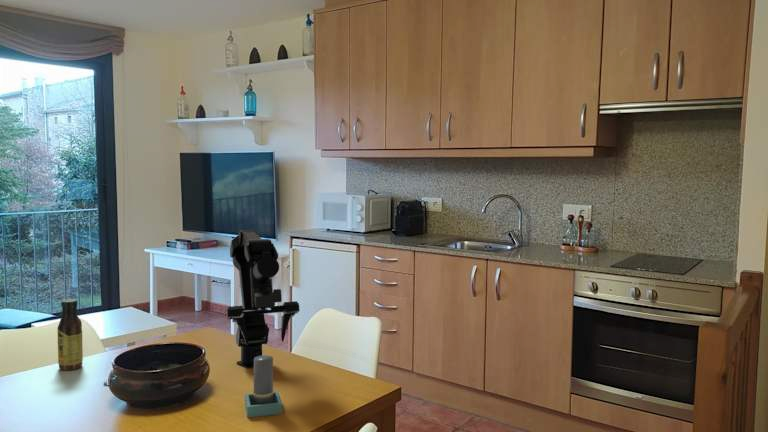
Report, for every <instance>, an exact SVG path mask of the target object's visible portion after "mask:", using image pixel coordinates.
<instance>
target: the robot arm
mask: <svg viewBox="0 0 768 432" xmlns="http://www.w3.org/2000/svg"><path fill="white" fill-rule="evenodd" d="M229 256H230V258H232V264H233V266H234V267H235V268H236V269H237V271H238V272H239V273H238V275H239V284H240V285H239V286H240V293H241V305H233V306H231V305H230V306H228V307H227V308H226V317H227V318H226V320H231V321H232V323H236V325H237V328H236V334H235V343H236V346H237V347H239V348H240V360H238V361H236V364H237V365H239V366H242V367H245V368H246V369H250V368H251V369H252V368H254V358H255V357H257V356H263V345H267V344H268V342H269V333H270V328H269V326H268V324H267V323H266V320H265V319H266V318H265V314H274V313H275V314H276V313H277V314H278V313H282V316H281V327H280V328H281V331H280V333H281V334H280V336H281V342H284V341H285V337H286V333H287V329H288V325H289V323H290V320H291V318H293V317H294V316H295V315H296V314H299V312H300V304H299V302H298V301H294V300H293V301H286V302H283V303H282V289H281V288H279V289H278V288H276V289H273V286H274V285H273V278H274V277H275V276H276V275H277V274H278V273H279V270H280V264H279V262H278V259H279V253H278V251H277V249H276V246H275V245H274V243H273V242H272V240H271V239H269V238H261V237H260V236H259V235H258V233H257V230H254V229H242V230H239V232H238V235H237V236H235V237H234V238H233V239H231V242H230V247H229ZM276 303H282V305H276Z"/></svg>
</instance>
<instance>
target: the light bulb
mask: <svg viewBox="0 0 768 432" xmlns="http://www.w3.org/2000/svg"><path fill="white" fill-rule="evenodd" d="M273 378H274V357H273V356H271V355H263V354H262V356H257V357H255V358H254V367H253V390H252V391H253V392H252V394H253V396H254V405H259V404H270V403H273V392H274V379H273Z"/></svg>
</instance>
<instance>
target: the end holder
mask: <svg viewBox="0 0 768 432" xmlns="http://www.w3.org/2000/svg"><path fill="white" fill-rule="evenodd" d="M244 402H245V403H244V406H245V411H246V412H245V413H246V418H254V417H255V418H257V417H265V416H266V417H267V416H273V415H274V416H275V415H283V402H282V399H281V395H280V392H279V391H276V390H275V391H273V403H270V404H259V405H254V396H253V393H245V394H244Z"/></svg>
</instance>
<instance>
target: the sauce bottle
mask: <svg viewBox="0 0 768 432" xmlns="http://www.w3.org/2000/svg"><path fill="white" fill-rule="evenodd" d="M60 303H61V304H60V306H61V318H60V321H59V323H58V325H57V329H56V330H57V363H58V368H59V369H60V370H61V371H73V370H78V369H80V368H81V367H82V366H83V360H84V359H83V358H84V357H83V356H84V355H83V354H84V353H83V351H84V350H83V330H82V329H83V328H82V327H83V325H82V320H81V318H80V317H79V316H78V311H77V310H78V305H79V303H78V299H77V298H66V299H63V300H61V302H60Z"/></svg>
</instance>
